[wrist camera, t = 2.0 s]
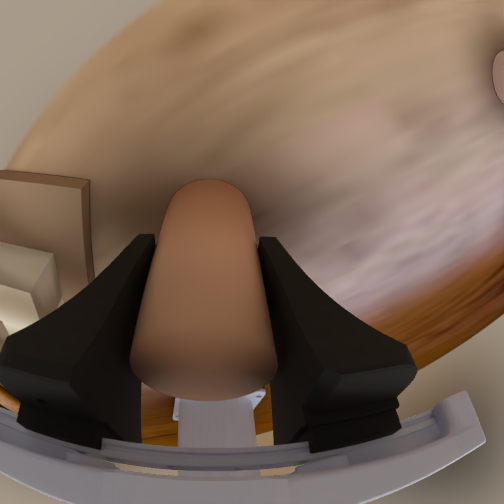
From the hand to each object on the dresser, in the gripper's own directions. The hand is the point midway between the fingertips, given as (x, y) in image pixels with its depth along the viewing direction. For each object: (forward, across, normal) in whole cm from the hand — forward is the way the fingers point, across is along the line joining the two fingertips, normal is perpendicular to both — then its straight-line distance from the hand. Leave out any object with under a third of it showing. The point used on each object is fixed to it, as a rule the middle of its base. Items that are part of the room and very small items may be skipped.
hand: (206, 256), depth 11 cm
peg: (+3, 0, 0) cm, 3 cm away
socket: (+3, +15, +6) cm, 17 cm away
